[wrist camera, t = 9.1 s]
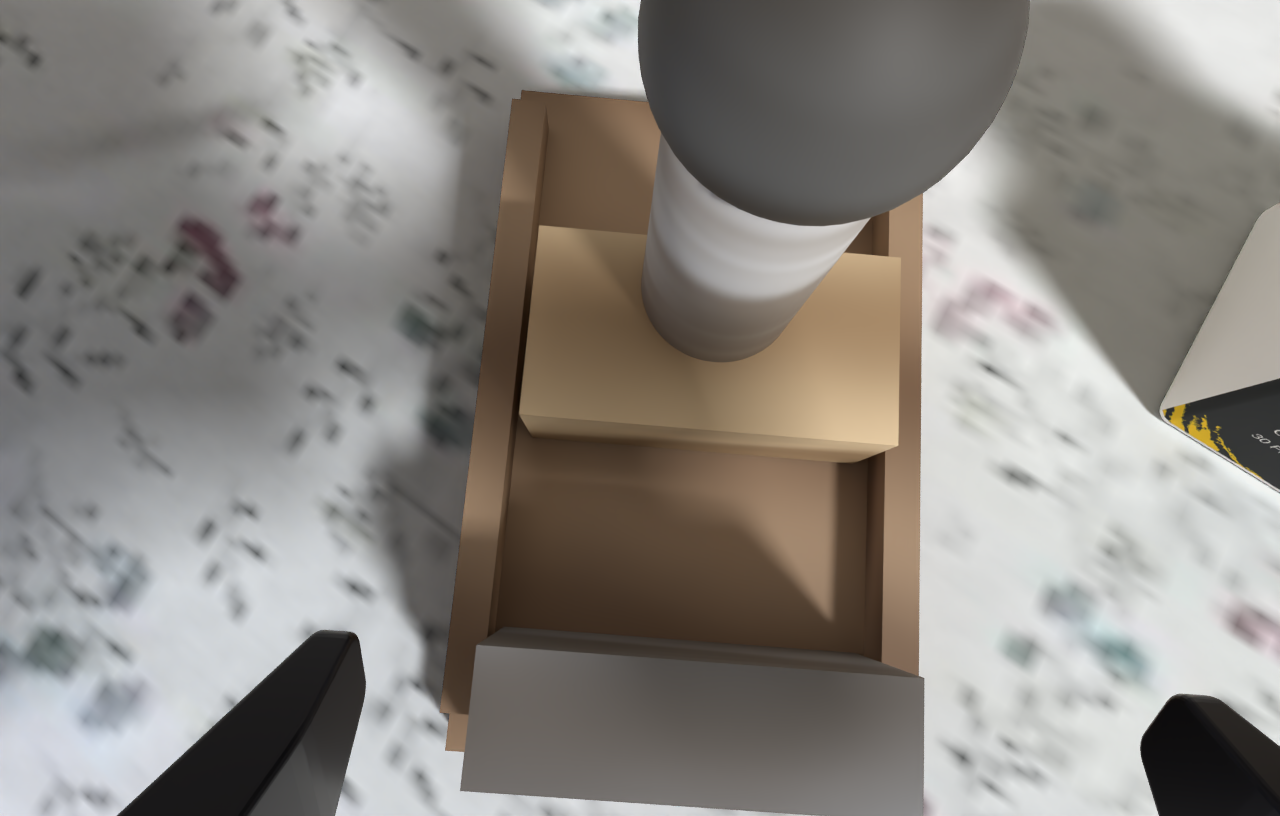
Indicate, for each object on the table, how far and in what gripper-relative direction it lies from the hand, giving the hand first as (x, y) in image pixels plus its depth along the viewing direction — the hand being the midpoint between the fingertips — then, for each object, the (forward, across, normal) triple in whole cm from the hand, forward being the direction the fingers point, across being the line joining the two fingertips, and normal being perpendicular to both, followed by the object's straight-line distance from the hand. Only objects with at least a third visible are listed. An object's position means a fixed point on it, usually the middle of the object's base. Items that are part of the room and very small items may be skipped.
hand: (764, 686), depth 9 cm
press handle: (+11, 0, +2) cm, 11 cm away
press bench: (+11, 0, +4) cm, 12 cm away
